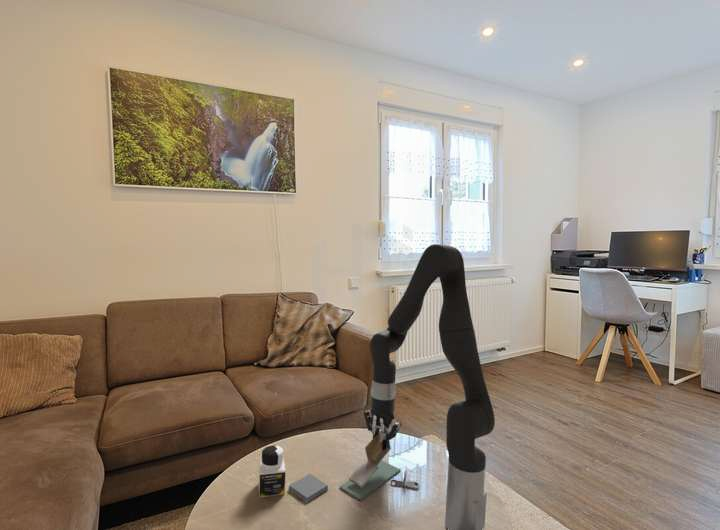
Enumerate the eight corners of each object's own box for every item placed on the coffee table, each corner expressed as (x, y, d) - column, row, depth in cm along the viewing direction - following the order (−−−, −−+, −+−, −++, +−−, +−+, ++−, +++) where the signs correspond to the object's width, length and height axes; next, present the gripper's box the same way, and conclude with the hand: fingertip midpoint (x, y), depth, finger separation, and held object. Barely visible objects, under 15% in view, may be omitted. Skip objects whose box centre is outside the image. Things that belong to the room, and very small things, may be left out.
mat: (400, 471, 126) (400, 469, 126) (359, 500, 111) (360, 498, 111) (380, 461, 131) (380, 459, 131) (339, 488, 116) (339, 486, 116)
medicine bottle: (259, 498, 110) (260, 456, 109) (258, 483, 117) (259, 443, 116) (284, 495, 112) (286, 454, 111) (282, 480, 119) (284, 441, 118)
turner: (393, 449, 125) (390, 435, 123) (361, 487, 114) (358, 472, 112) (381, 444, 128) (378, 429, 126) (349, 480, 117) (345, 464, 115)
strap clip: (418, 485, 120) (419, 471, 119) (418, 491, 117) (419, 477, 116) (391, 481, 121) (391, 467, 121) (390, 486, 118) (390, 473, 118)
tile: (327, 485, 115) (307, 497, 109) (327, 491, 115) (306, 503, 109) (309, 473, 120) (289, 485, 114) (309, 479, 120) (288, 490, 114)
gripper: (408, 397, 121) (405, 451, 122) (373, 385, 130) (370, 435, 131) (394, 404, 115) (391, 461, 116) (358, 390, 124) (355, 443, 125)
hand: (380, 447), depth 124 cm, fingers closed on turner, 3 cm apart
